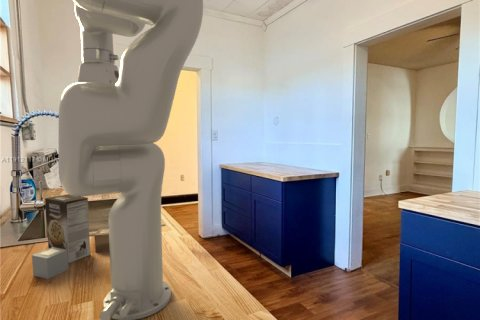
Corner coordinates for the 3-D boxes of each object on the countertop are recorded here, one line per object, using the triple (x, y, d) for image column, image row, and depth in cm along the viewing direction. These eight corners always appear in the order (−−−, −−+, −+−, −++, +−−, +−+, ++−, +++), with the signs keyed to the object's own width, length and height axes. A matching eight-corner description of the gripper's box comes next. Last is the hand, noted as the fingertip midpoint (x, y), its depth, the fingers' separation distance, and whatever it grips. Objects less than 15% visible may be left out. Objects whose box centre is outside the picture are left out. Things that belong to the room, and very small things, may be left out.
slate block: (48, 279, 64) (46, 258, 63) (33, 275, 65) (31, 254, 65) (68, 269, 68) (67, 249, 68) (54, 266, 70) (52, 246, 70)
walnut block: (114, 250, 79) (113, 233, 79) (95, 252, 78) (94, 234, 78) (117, 244, 84) (116, 227, 84) (99, 245, 83) (98, 228, 82)
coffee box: (47, 256, 75) (43, 197, 74) (71, 248, 81) (68, 193, 79) (67, 264, 71) (64, 201, 69) (91, 254, 77) (88, 196, 75)
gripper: (132, 63, 77) (134, 129, 79) (79, 64, 78) (83, 130, 80) (119, 55, 70) (122, 128, 71) (61, 56, 71) (65, 129, 72)
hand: (101, 129), depth 75 cm, fingers closed
